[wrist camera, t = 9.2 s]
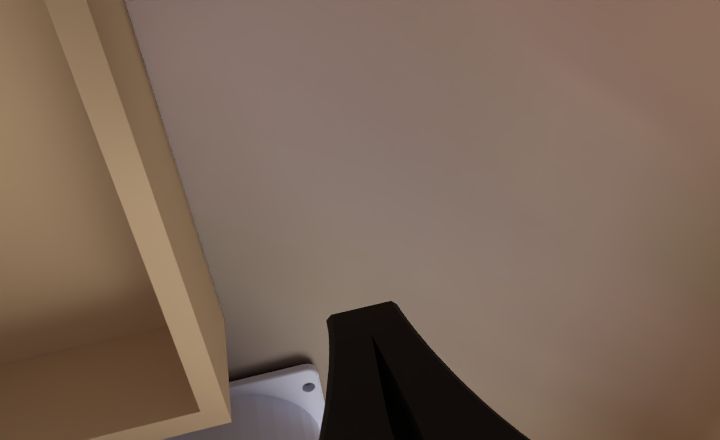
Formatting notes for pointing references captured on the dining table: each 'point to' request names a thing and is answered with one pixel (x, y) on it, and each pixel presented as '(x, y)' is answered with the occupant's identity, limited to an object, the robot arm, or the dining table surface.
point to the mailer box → (96, 241)
